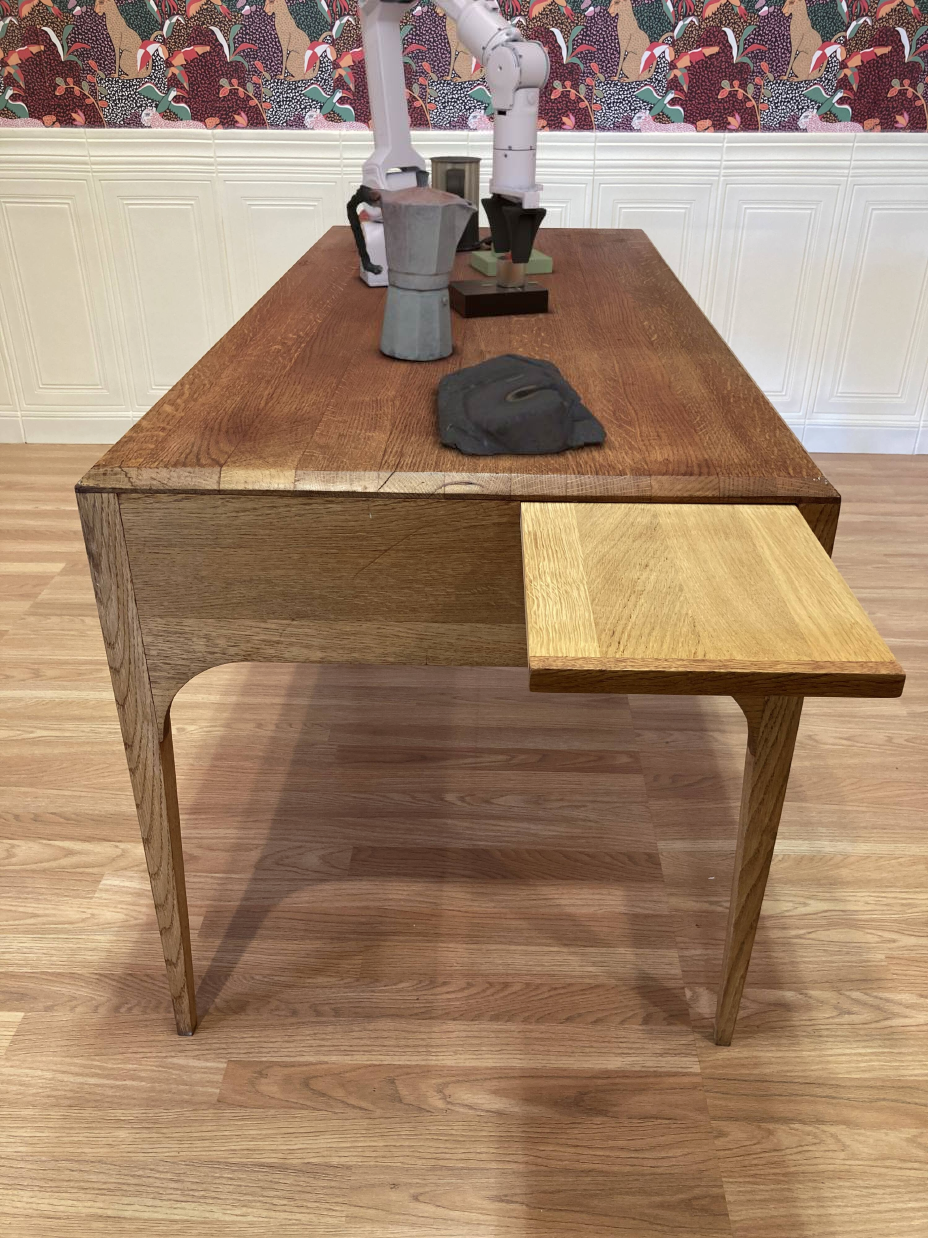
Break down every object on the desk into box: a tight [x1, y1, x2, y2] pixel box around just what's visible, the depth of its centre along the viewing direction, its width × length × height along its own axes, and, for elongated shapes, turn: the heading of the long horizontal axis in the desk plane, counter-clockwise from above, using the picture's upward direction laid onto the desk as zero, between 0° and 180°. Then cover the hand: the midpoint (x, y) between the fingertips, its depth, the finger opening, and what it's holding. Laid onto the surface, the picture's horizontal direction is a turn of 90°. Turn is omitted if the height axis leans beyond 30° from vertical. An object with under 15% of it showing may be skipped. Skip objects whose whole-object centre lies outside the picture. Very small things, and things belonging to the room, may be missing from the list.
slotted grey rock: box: [436, 353, 607, 456], centre depth 95 cm, size 15×22×5 cm
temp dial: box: [495, 253, 526, 287], centre depth 133 cm, size 4×4×4 cm
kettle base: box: [471, 243, 554, 277], centre depth 158 cm, size 11×9×4 cm
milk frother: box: [429, 155, 492, 251], centre depth 171 cm, size 14×16×15 cm
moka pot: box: [345, 170, 478, 362], centre depth 110 cm, size 10×15×20 cm, turn 78°
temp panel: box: [447, 276, 550, 319], centre depth 135 cm, size 12×9×3 cm
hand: (511, 257), depth 133 cm, fingers open, 7 cm apart
